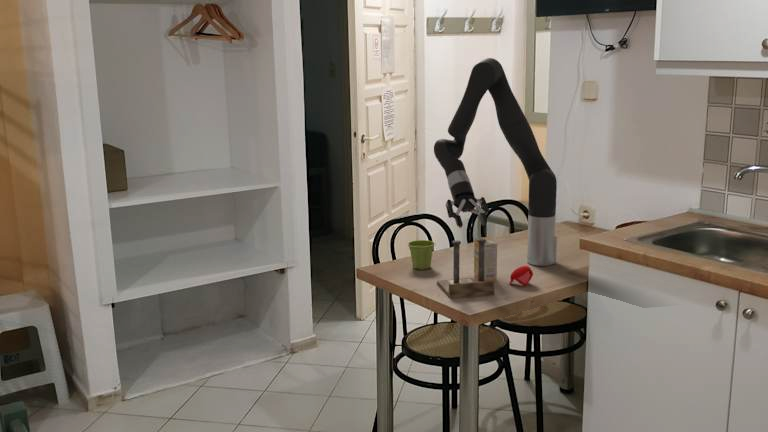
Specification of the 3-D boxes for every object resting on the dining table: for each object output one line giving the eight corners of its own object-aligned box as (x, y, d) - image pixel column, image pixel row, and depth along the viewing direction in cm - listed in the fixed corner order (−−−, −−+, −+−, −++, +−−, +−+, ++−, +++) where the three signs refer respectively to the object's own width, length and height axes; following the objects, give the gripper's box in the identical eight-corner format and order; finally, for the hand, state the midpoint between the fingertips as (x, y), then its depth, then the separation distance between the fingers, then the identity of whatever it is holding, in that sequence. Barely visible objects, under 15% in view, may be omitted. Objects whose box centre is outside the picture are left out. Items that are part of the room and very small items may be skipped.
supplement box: (473, 275, 252) (473, 237, 249) (486, 274, 253) (486, 236, 251) (483, 282, 244) (484, 243, 241) (497, 281, 246) (497, 242, 243)
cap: (533, 271, 245) (517, 261, 245) (537, 270, 239) (521, 260, 239) (521, 292, 244) (505, 282, 244) (524, 292, 238) (507, 281, 238)
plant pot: (410, 272, 257) (410, 247, 256) (405, 264, 267) (405, 240, 265) (437, 270, 259) (437, 245, 257) (431, 263, 268) (431, 239, 266)
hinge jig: (478, 280, 246) (478, 230, 243) (494, 294, 232) (494, 241, 228) (436, 284, 244) (436, 233, 240) (450, 298, 229) (450, 245, 226)
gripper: (443, 181, 259) (456, 221, 250) (482, 179, 263) (495, 217, 254) (438, 194, 265) (450, 233, 256) (476, 191, 269) (488, 229, 260)
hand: (472, 225), depth 255 cm, fingers open, 8 cm apart
